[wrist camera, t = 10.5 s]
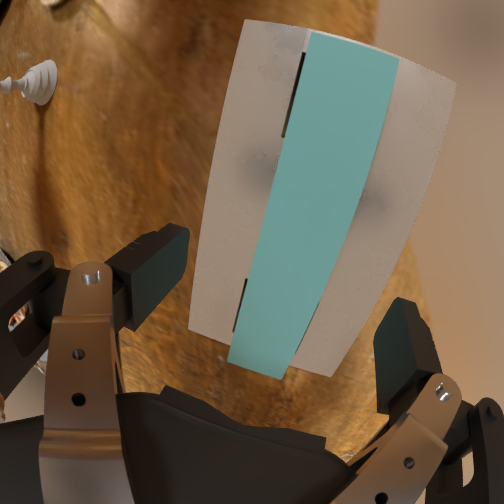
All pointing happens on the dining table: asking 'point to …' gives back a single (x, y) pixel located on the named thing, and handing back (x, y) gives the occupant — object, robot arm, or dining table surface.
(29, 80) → the chalice
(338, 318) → the plate
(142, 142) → the dining table surface
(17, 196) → the dining table surface
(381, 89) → the strip bar
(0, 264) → the food plate
